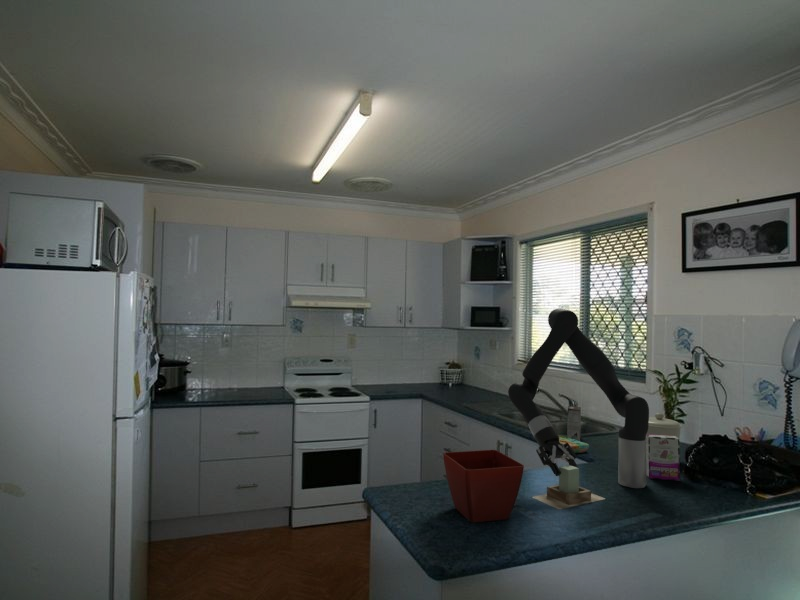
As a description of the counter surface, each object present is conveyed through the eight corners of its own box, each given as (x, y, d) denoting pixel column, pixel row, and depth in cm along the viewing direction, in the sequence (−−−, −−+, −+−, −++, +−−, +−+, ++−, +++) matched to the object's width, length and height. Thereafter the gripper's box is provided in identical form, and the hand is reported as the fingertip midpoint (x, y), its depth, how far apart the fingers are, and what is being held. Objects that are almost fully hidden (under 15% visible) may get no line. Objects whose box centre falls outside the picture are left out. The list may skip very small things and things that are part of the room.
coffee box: (567, 436, 267) (568, 405, 267) (580, 437, 264) (581, 406, 265) (566, 440, 258) (567, 408, 259) (580, 441, 256) (580, 409, 257)
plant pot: (464, 529, 143) (466, 469, 144) (440, 505, 161) (442, 452, 162) (524, 523, 148) (525, 465, 149) (494, 500, 167) (495, 449, 167)
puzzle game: (569, 444, 230) (541, 435, 248) (569, 455, 229) (540, 444, 248) (589, 442, 234) (559, 433, 253) (588, 453, 234) (559, 443, 252)
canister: (681, 468, 211) (681, 418, 212) (634, 461, 221) (634, 413, 222) (683, 459, 227) (683, 412, 228) (639, 452, 236) (639, 407, 237)
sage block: (569, 494, 170) (569, 465, 170) (578, 498, 166) (579, 468, 167) (558, 497, 167) (559, 466, 168) (568, 501, 164) (568, 470, 164)
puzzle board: (577, 492, 177) (577, 479, 178) (605, 503, 167) (606, 489, 167) (531, 501, 166) (531, 487, 167) (559, 514, 156) (559, 499, 156)
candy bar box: (676, 477, 198) (676, 435, 199) (680, 481, 193) (680, 438, 194) (645, 474, 201) (645, 433, 202) (648, 478, 196) (648, 436, 197)
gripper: (534, 427, 172) (559, 470, 162) (563, 424, 179) (589, 465, 169) (522, 439, 177) (546, 481, 166) (551, 435, 184) (576, 476, 173)
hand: (568, 473), depth 167 cm, fingers open, 8 cm apart
